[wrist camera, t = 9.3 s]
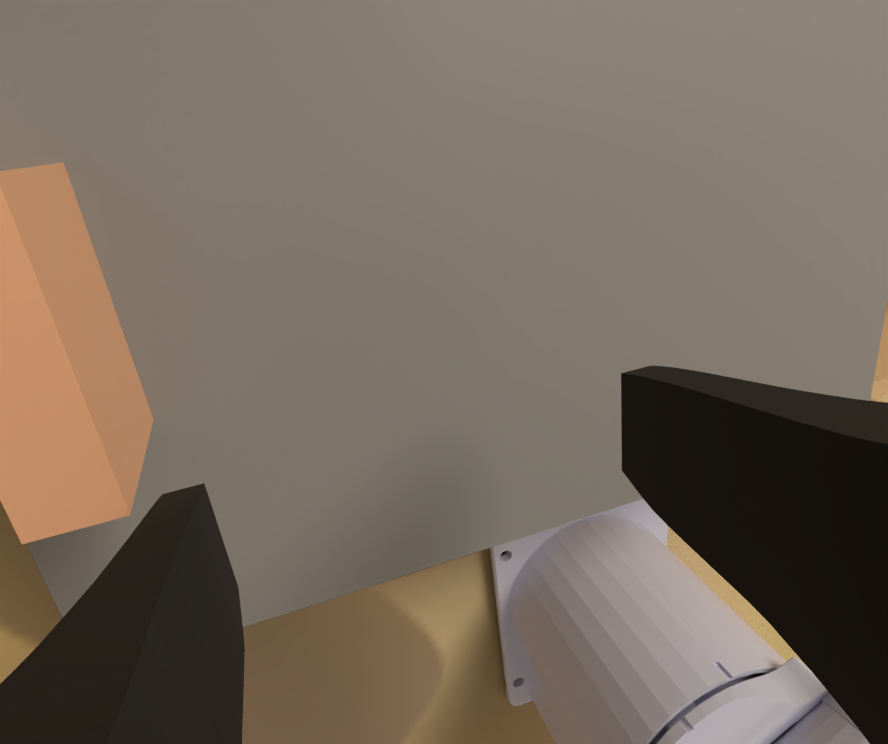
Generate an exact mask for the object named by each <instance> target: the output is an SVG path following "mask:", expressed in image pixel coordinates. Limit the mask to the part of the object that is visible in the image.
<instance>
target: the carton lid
mask: <svg viewBox="0 0 888 744" xmlns="http://www.w3.org/2000/svg"><path fill="white" fill-rule="evenodd" d="M887 301H888V0H0V501H1V503H2V505H3V507H4V509H5V511H6V513H7V515H8V517H9V519H10V521H11V523H12V525H13V527H14V530H15V532H16V534H17V536H18V538H19V540H20V542H21V544H26V545H27V547H28V549H29V551H30V553H31V555H32V557H33V559H34V561H35V563H36V565H37V567H38V569H39V571H40V573H41V576H42V578H43V580H44V582H45V584H46V586H47V588H48V590H49V592H50V594H51V596H52V598H53V600H54V602H55V604H56V606H57V608H58V610H59V612H60V615H61V617H62V618H63V617H64V616H65V615H66V614H67V613H68V611H69V610H70V609H71V608H72V607H73V606H74V604H75V603H76V602H77V601H78V600H79V599H80V598H81V596H82V595H83V594H84V593H85V592H86V591H87V589H88V588H89V587H90V586H91V585H92V584H93V583H94V581H95V580H96V579H97V578H98V576H99V575H100V574H101V573H102V571H103V570H104V569H105V567H106V566H107V565H108V564H109V562H110V561H111V560H112V558H113V557H114V556H115V555H116V553H117V552H118V551H119V550H120V548H121V547H122V546H123V544H124V543H125V542H126V541H127V539H128V538H129V537H130V535H131V534H132V533H133V531H134V530H135V529H136V527H137V526H138V525H139V523H140V522H141V521H142V519H143V518H144V517H145V515H146V514H147V513H148V511H149V510H150V509H151V507H152V506H153V505H154V503H155V502H156V501H157V500H158V499H159V497H160V496H161V495H162V494H165V493H169V492H173V491H176V490H180V489H184V488H188V487H192V486H195V485H199V484H203V483H204V484H205V487H206V490H207V493H208V496H209V499H210V502H211V505H212V508H213V511H214V514H215V517H216V520H217V524H218V527H219V530H220V533H221V536H222V539H223V542H224V545H225V548H226V551H227V554H228V557H229V560H230V563H231V566H232V569H233V572H234V575H235V578H236V582H237V585H238V588H239V597H240V606H241V615H242V625H243V627H246V626H249V625H252V624H255V623H258V622H261V621H264V620H267V619H271V618H274V617H277V616H280V615H283V614H286V613H289V612H292V611H295V610H299V609H302V608H305V607H308V606H311V605H314V604H317V603H320V602H323V601H326V600H330V599H333V598H336V597H339V596H342V595H345V594H348V593H351V592H355V591H358V590H361V589H364V588H367V587H370V586H373V585H376V584H379V583H383V582H386V581H389V580H392V579H395V578H398V577H401V576H404V575H407V574H411V573H414V572H417V571H420V570H423V569H426V568H429V567H432V566H435V565H439V564H442V563H445V562H448V561H451V560H454V559H457V558H460V557H463V556H467V555H470V554H473V553H476V552H479V551H482V550H485V549H488V548H491V547H495V546H498V545H501V544H504V543H507V542H510V541H513V540H516V539H520V538H523V537H526V536H529V535H532V534H535V533H538V532H541V531H544V530H548V529H551V528H554V527H557V526H560V525H563V524H566V523H569V522H572V521H576V520H579V519H582V518H585V517H588V516H591V515H594V514H597V513H600V512H604V511H607V510H610V509H613V508H616V507H619V506H622V505H625V504H628V503H632V502H635V501H638V500H641V499H643V498H642V496H641V495H640V494H639V493H638V491H637V490H636V489H635V487H634V486H633V485H632V483H631V482H630V481H629V479H628V478H627V477H626V475H625V474H624V473H623V471H622V431H621V373H624V372H628V371H632V370H636V369H639V368H643V367H647V366H666V367H674V368H681V369H688V370H694V371H699V372H705V373H710V374H716V375H721V376H726V377H731V378H736V379H742V380H747V381H752V382H757V383H762V384H768V385H773V386H778V387H784V388H789V389H795V390H801V391H806V392H813V393H819V394H826V395H832V396H839V397H845V398H852V399H859V400H867V401H870V399H871V393H872V388H873V382H874V376H875V370H876V364H877V359H878V353H879V347H880V341H881V335H882V330H883V324H884V318H885V312H886V306H887Z"/></svg>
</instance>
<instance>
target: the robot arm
mask: <svg viewBox="0 0 888 744" xmlns="http://www.w3.org/2000/svg"><path fill="white" fill-rule="evenodd" d="M621 431H622V471H623V473H624V474H625V475H626V477H627V478H628V479H629V481H630V482H631V483H632V485H633V486H634V487H635V489H636V490H637V491H638V493H639V494H640V495H641V496H642V498H643V499H641V500H638V501H635V502H632V503H628V504H625V505H622V506H619V507H616V508H613V509H610V510H607V511H604V512H600V513H597V514H594V515H591V516H588V517H585V518H582V519H579V520H576V521H572V522H569V523H566V524H563V525H560V526H557V527H554V528H551V529H548V530H544V531H541V532H538V533H535V534H532V535H529V536H526V537H523V538H520V539H516V540H513V541H510V542H507V543H504V544H501V545H498V546H495V547H491V548H490V553H491V562H492V571H493V579H494V588H495V597H496V606H497V614H498V623H499V632H500V641H501V649H502V658H503V667H504V676H505V685H506V693H507V698H508V700H509V702H510V704H511V705H513V706H520V705H523V704H526V703H528V702H531V701H533V702H534V704H535V706H536V708H537V710H538V712H539V714H540V715H541V717H542V719H543V721H544V723H545V725H546V727H547V729H548V730H549V732H550V734H551V736H552V738H553V740H554V742H555V744H888V403H885V402H875V401H867V400H859V399H852V398H845V397H839V396H832V395H826V394H819V393H813V392H806V391H801V390H795V389H789V388H784V387H778V386H773V385H768V384H762V383H757V382H752V381H747V380H742V379H736V378H731V377H726V376H721V375H716V374H710V373H705V372H699V371H694V370H688V369H681V368H674V367H666V366H647V367H643V368H639V369H636V370H632V371H628V372H624V373H621ZM668 526H669V527H670V528H671V529H672V530H673V531H674V532H675V533H676V534H677V535H678V536H679V537H680V538H682V539H683V540H684V541H685V542H686V543H687V544H688V545H689V546H690V547H691V548H692V549H693V550H694V551H695V552H696V553H697V554H698V555H700V556H701V557H702V558H703V559H704V560H705V561H706V562H707V563H708V564H709V565H710V566H711V567H712V568H713V569H714V570H715V571H717V572H718V573H719V574H720V575H721V576H722V577H723V578H724V579H725V580H726V581H727V582H728V583H729V584H730V585H731V586H733V587H734V588H735V589H736V590H737V591H738V592H739V593H740V594H741V595H742V596H743V597H744V598H745V599H746V600H747V601H748V602H749V603H750V604H751V605H752V606H753V607H754V608H755V609H756V610H757V611H758V612H759V613H760V614H761V615H762V616H763V617H764V618H765V619H766V620H767V621H768V622H769V623H770V624H771V625H772V626H773V628H774V629H775V630H776V631H777V632H778V633H779V635H780V636H781V637H782V638H783V639H784V640H785V641H786V643H787V644H788V645H789V646H790V647H791V648H792V649H793V651H794V652H795V653H796V654H797V655H798V656H799V657H800V659H801V660H802V661H803V662H804V663H805V664H806V665H804V664H803V663H802V662H801V661H800V660H799V659H798V658H797V657H792V658H791V659H790V660H788V661H786V660H785V659H784V658H783V657H782V656H781V655H780V654H779V653H778V652H776V651H775V650H774V649H773V648H772V647H771V646H770V645H769V644H768V643H767V642H766V641H765V640H764V639H763V638H762V637H761V636H760V635H759V634H758V633H757V632H756V631H754V630H753V629H752V628H751V627H750V626H749V625H748V624H747V623H746V622H745V621H744V620H743V619H742V618H741V617H740V616H739V615H738V614H737V613H736V612H735V611H734V610H733V609H731V608H730V607H729V606H728V605H727V604H726V603H725V602H724V601H723V600H722V599H721V598H720V597H719V596H718V595H717V594H716V593H715V592H714V591H713V590H712V589H711V588H709V587H708V586H707V585H706V584H705V583H704V582H703V581H702V580H701V579H700V578H699V577H698V576H697V575H696V574H695V573H694V572H693V571H692V570H691V569H690V568H689V567H687V566H686V565H685V564H684V563H683V562H682V561H681V560H680V559H679V558H678V557H677V556H676V555H675V554H674V553H673V552H672V551H671V550H670V549H669V548H668V547H667V530H668ZM504 551H507V552H506V554H504V555H503V556H500V555H501V553H502V552H504ZM243 686H244V636H243V625H242V615H241V606H240V597H239V588H238V585H237V582H236V578H235V575H234V572H233V569H232V566H231V563H230V560H229V557H228V554H227V551H226V548H225V545H224V542H223V539H222V536H221V533H220V530H219V527H218V524H217V520H216V517H215V514H214V511H213V508H212V505H211V502H210V499H209V496H208V493H207V490H206V487H205V484H204V483H203V484H199V485H195V486H192V487H188V488H184V489H180V490H176V491H173V492H169V493H165V494H162V495H161V496H160V497H159V499H158V500H157V501H156V502H155V503H154V505H153V506H152V507H151V509H150V510H149V511H148V513H147V514H146V515H145V517H144V518H143V519H142V521H141V522H140V523H139V525H138V526H137V527H136V529H135V530H134V531H133V533H132V534H131V535H130V537H129V538H128V539H127V541H126V542H125V543H124V544H123V546H122V547H121V548H120V550H119V551H118V552H117V553H116V555H115V556H114V557H113V558H112V560H111V561H110V562H109V564H108V565H107V566H106V567H105V569H104V570H103V571H102V573H101V574H100V575H99V576H98V578H97V579H96V580H95V581H94V583H93V584H92V585H91V586H90V587H89V588H88V589H87V591H86V592H85V593H84V594H83V595H82V596H81V598H80V599H79V600H78V601H77V602H76V603H75V604H74V606H73V607H72V608H71V609H70V610H69V611H68V613H67V614H66V615H65V616H64V617H63V618H62V619H61V621H60V622H59V623H58V624H57V625H56V626H55V628H54V629H53V630H52V631H51V632H50V633H49V634H48V636H47V637H46V638H45V639H44V640H43V641H42V642H41V643H40V644H39V645H38V646H37V647H36V648H35V650H34V651H33V652H32V653H31V654H30V655H29V656H28V657H27V658H26V659H25V660H24V661H23V662H22V663H21V664H20V665H19V666H18V667H17V668H16V669H15V670H14V671H13V672H12V673H11V674H10V675H9V676H8V677H7V678H6V679H5V680H4V681H3V682H2V683H1V684H0V744H242V717H243Z"/></svg>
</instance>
